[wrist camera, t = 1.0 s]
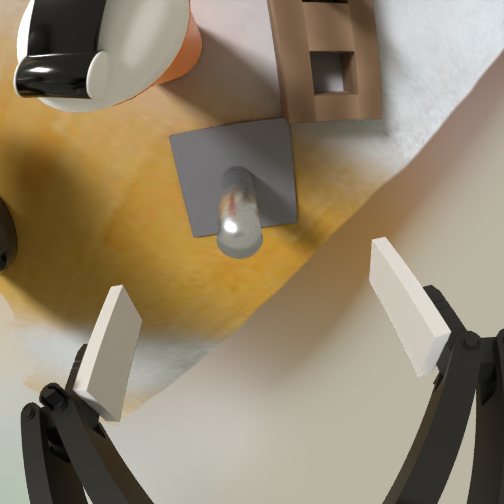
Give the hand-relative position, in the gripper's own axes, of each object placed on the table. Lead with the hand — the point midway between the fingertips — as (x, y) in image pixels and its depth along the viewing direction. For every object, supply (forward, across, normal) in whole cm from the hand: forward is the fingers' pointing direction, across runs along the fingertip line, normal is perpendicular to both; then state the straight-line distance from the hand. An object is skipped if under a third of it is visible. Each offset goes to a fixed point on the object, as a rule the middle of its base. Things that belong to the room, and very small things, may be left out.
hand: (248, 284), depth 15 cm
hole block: (+19, +10, +13) cm, 25 cm away
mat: (+19, 0, -1) cm, 19 cm away
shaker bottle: (+19, -4, +14) cm, 24 cm away
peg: (+18, 0, -1) cm, 18 cm away
